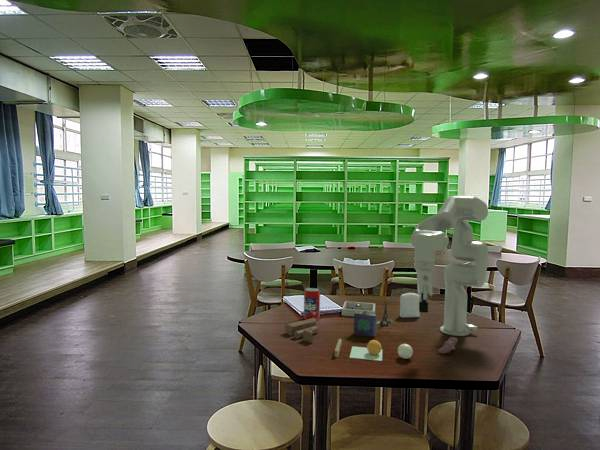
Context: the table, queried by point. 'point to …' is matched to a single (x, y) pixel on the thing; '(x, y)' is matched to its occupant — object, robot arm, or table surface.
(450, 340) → the video game controller
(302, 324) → the wooden block set
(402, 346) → the cue ball
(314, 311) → the soda can
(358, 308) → the grey rounded piece
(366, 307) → the cup tray
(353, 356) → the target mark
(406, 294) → the photo printer
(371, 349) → the orange ball
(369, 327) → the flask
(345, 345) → the table surface
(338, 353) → the stop rail
